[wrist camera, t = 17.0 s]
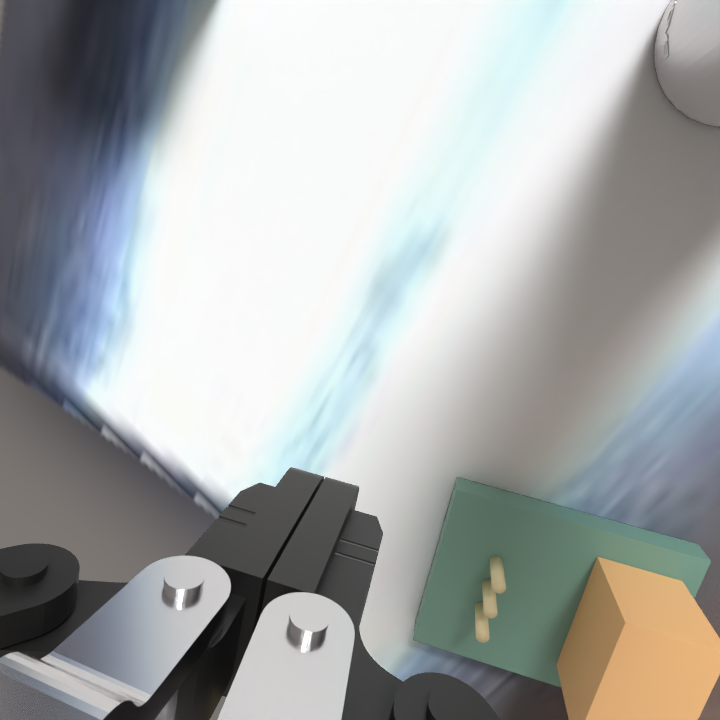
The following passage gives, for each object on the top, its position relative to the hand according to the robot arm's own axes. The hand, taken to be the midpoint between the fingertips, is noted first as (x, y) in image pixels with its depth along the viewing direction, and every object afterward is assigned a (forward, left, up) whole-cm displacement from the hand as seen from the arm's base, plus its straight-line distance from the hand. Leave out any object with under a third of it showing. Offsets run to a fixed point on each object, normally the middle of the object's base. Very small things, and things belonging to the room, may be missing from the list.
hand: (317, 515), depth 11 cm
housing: (-18, +17, -25) cm, 35 cm away
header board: (-14, +17, -27) cm, 35 cm away
